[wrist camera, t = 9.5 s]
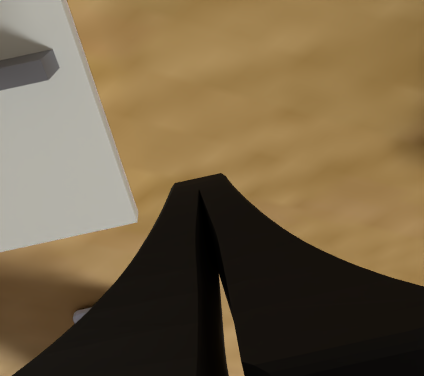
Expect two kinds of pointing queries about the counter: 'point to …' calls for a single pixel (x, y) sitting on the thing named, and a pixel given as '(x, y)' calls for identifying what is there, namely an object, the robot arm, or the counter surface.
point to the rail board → (53, 133)
